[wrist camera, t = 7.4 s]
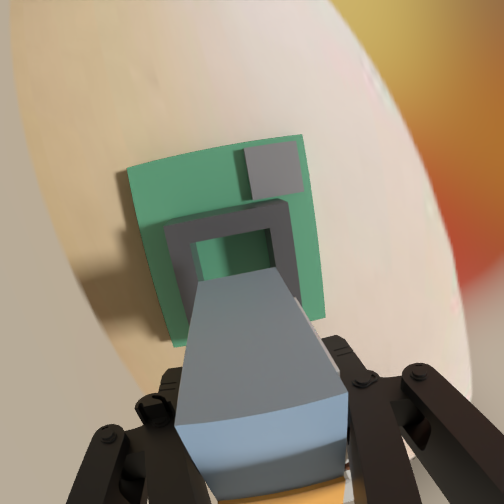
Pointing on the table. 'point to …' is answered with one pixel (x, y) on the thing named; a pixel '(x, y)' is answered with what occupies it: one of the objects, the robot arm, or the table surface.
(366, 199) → the table surface
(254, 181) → the circuit board
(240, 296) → the plug
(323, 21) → the table surface
